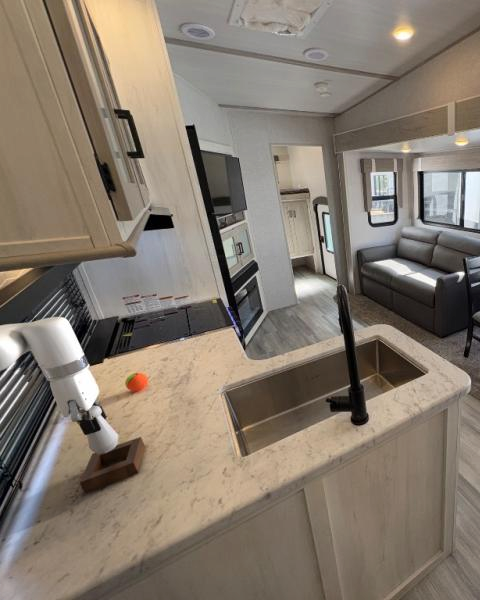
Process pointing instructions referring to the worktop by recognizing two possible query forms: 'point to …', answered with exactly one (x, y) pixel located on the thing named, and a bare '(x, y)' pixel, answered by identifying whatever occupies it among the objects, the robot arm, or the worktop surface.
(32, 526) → the worktop surface
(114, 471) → the holder
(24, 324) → the robot arm
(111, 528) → the worktop surface
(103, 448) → the salt shaker
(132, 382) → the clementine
